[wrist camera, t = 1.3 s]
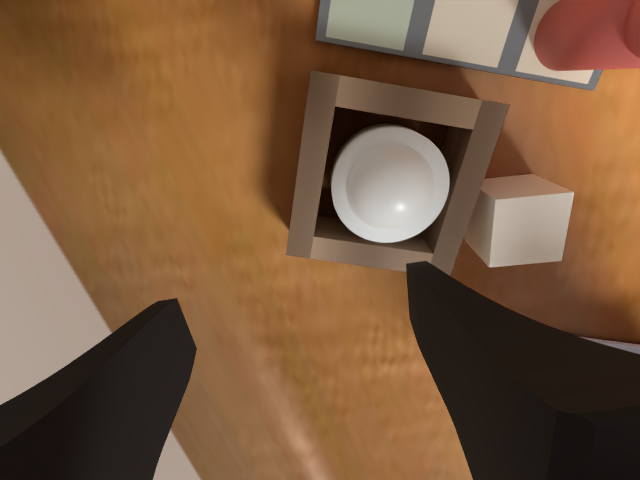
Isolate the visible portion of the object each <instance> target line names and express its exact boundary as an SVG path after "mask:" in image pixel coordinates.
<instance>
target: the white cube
mask: <svg viewBox="0 0 640 480" xmlns="http://www.w3.org/2000/svg"><path fill="white" fill-rule="evenodd" d="M573 198H574V192H573V191H571V190H569V189H567V188H564V187H562V186H560V185H558V184H555V183H553V182H551V181H549V180H546V179H544V178H542V177H539V176H537V175H535V174H526V175H516V176H507V177H497V178H487V179H484V181H483V184H482V186H481V189H480V192H479V195H478V198H477V201H476V204H475V206H474V209H473V212H472V215H471V218H470V221H469V224H468V227H467V229H466V232H465V235H464V240H465V242H466V243H467V244H468V245H469V246H470V247H471V248H472V249H473V250H474V252H475V253H476V254H477V255H478V256H479V257H480V258H481V259H482V260H483V262H484V263H485V264H486V265H487V266H488V267H489V268H490V267H501V266H512V265H523V264H534V263H544V262H555V261H562V256H563V251H564V246H565V240H566V235H567V230H568V224H569V219H570V214H571V208H572V203H573Z"/></svg>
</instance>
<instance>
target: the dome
mask: <svg viewBox="0 0 640 480" xmlns="http://www.w3.org/2000/svg"><path fill="white" fill-rule="evenodd" d="M449 184H450V182H449V171H448V167H447V163H446V161H445V159H444V157H443V155H442V153H441V152H440V150H439V149H438V148H437V147H436V145H435V144H434V143H433V142H431V141H430V140H429V139H428V138H426V137H424V136H423V135H421V134H419V133H417V132H415V131H413V130H412V129H410V128H407V127H405V126H402V125H398V124H391V123H382V124H376V125H372V126H369V127H366V128H364V129H362V130H360V131H358V132H357V133H355V134H354V135H352V136H351V137H350V138H349V139H348V140H347V141H346V142H345V143H344V144H343V145H342V147H341V148H340V149H339V151H338V153H337V155H336V157H335V159H334V162H333V165H332V169H331V191H332V198H333V203H334V207H335V210H336V212H337V214H338V216H339V218H340V219H341V221H342V222H343V223H344V224H345V226H346V227H347V228H348V229H350V230H351V231H352V232H353V233H355V234H356V235H358V236H360V237H362V238H364V239H367V240H370V241H374V242H381V243H392V242H399V241H402V240H406V239H408V238H411V237H413V236H415V235H417V234H419V233H420V232H422V231H423V230H425V229H426V228H427V227H428V226H429V225H431V224H432V222H433V221H434V220H435V219H436V218H437V216H438V215H439V214H440V212H441V210H442V209H443V207H444V205H445V202H446V199H447V196H448V192H449Z"/></svg>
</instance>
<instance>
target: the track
mask: <svg viewBox="0 0 640 480" xmlns="http://www.w3.org/2000/svg"><path fill="white" fill-rule="evenodd" d="M558 1H559V0H320V7H319V14H318V22H317V29H316V37H315V41H319V42H324V43H330V44H336V45H341V46H347V47H352V48H358V49H363V50H369V51H374V52H380V53H386V54H391V55H397V56H402V57H408V58H413V59H419V60H424V61H430V62H436V63H441V64H447V65H452V66H458V67H463V68H469V69H474V70H480V71H486V72H491V73H497V74H502V75H508V76H513V77H519V78H524V79H530V80H536V81H541V82H547V83H552V84H558V85H563V86H569V87H574V88H580V89H586V90H595V88H596V85H597V83H598V81H599V78H600V76H601V74H602V71H603V70H577V71H554V70H550V69H548V68H546V67H545V66H543V65H542V64H541V63H540V61H539V60H538V58H537V56H536V53H535V48H534V38H535V33H536V29H537V27H538V24H539V22H540V20H541V18H542V17H543V15H544V14H545V13H546V12H547V10H548V9H549V8H550V7H551V6H552V5H554V4H555V3H556V2H558Z"/></svg>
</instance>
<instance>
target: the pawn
mask: <svg viewBox="0 0 640 480" xmlns="http://www.w3.org/2000/svg"><path fill="white" fill-rule="evenodd" d="M534 48H535V53H536V56H537V58H538V60H539V61H540V63H541V64H542V65H543V66H545V67H546V68H548V69H550V70H554V71H577V70H604V69H632V68H640V0H559V1H558V2H556V3H555V4H554V5H552V6H551V7H550V8H549V9H548V10H547V12H546V13H545V14H544V15H543V17H542V18H541V20H540V22H539V24H538V27H537V29H536V33H535V38H534Z"/></svg>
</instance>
